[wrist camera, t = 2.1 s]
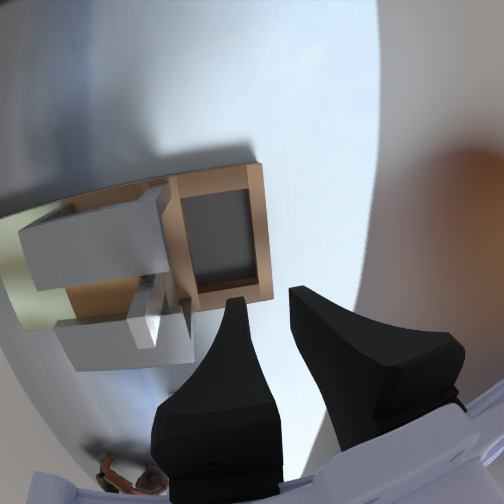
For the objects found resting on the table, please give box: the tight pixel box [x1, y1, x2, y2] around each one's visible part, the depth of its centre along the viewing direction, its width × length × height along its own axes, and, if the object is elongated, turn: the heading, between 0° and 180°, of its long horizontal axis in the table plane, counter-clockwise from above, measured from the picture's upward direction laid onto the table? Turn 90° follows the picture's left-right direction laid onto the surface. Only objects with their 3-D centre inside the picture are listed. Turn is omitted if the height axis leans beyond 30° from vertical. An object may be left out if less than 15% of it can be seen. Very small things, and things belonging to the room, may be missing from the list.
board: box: [0, 162, 274, 331], centre depth 20 cm, size 10×22×2 cm, turn 96°
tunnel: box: [17, 182, 195, 372], centre depth 16 cm, size 9×8×6 cm
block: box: [64, 276, 142, 318], centre depth 17 cm, size 5×5×4 cm
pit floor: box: [181, 189, 256, 286], centre depth 21 cm, size 7×4×1 cm, turn 6°
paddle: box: [126, 269, 177, 349], centre depth 15 cm, size 6×1×9 cm, turn 6°
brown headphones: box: [96, 455, 169, 495], centre depth 29 cm, size 12×10×8 cm
